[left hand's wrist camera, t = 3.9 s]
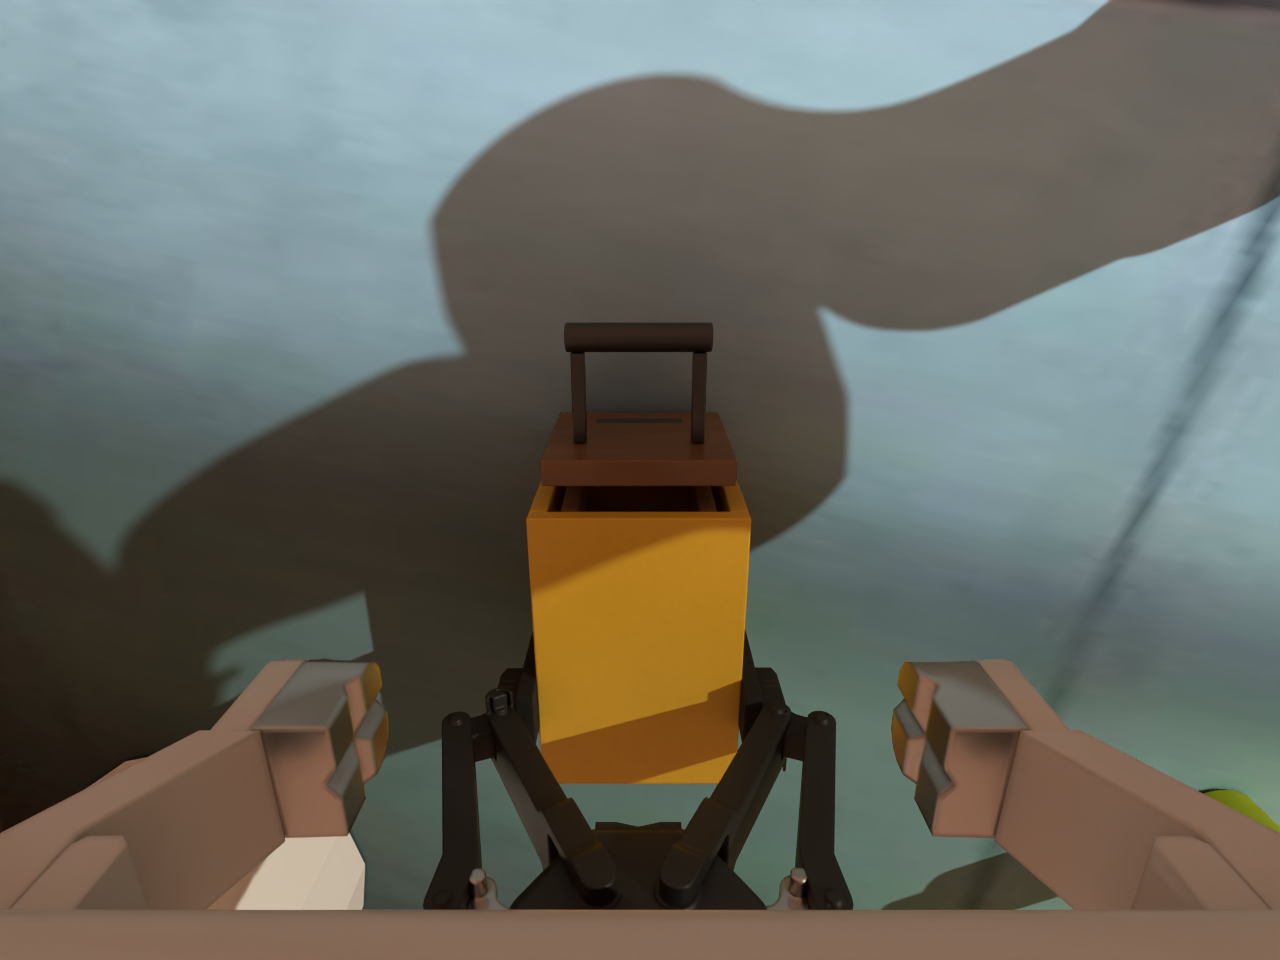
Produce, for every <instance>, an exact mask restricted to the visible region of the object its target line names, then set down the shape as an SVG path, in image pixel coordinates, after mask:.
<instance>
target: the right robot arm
mask: <svg viewBox="0 0 1280 960" xmlns="http://www.w3.org/2000/svg"><path fill="white" fill-rule="evenodd" d="M485 700H486V710H487V712H486V713H485V714H483V715H481V716H477V717H473V718H470V716H469V715H468V714H467V713H465V712H454V713H451V714H449V715H447V716H446V717H445V718H444V719H443V721H442V833H443V855H442V857H441V860H440V862H439V864H438V867H437V869H436V872H435V874H434V877H433V879H432V882H431V884H430V886H429V889H428V891H427V894H426V896H425V899H424V903H423V909H424V910H853V900H852V897H851V894H850V892H849V889H848V887H847V884H846V882H845V879H844V877H843V874H842V872H841V869H840V867H839V865H838V862H837V860H836V857H835V855H834V827H835V754H836V721H835V718H834V717H833V716H832V715H830V714H829V713H827V712H823V711H814V712H811V713H810V714H809V715H808V717H804V716H800V715H797V714H795V713H793V712H791V710H790V708H789V707H788V706H787V705H786V704H785V700H784V697H783V694H782V690H781V687H780V684H779V680H778V677H777V674H776V673H775V672H774V671H773V669H772V668H755V666H754V662H753V658H752V654H751V651H750V647H749V643H748V639H747V635H746V631H745V634H744V651H743V668H742V681H741V698H740V715H739V729H740V734H741V740H742V744H741V746H740V748H739V749H738V751H737V753H736V755H735V756H734V758H733V760H732V761H731V763H730V765H729V766H728V768H727V770H726V772H725V773H724V775H723V777H722V778H721V780H720V782H719V783H718V785H717V787H716V788H715V790H714V792H713V794H712V795H711V797H710V798H704V799H703V801H702V802H701V804H700V806H699V807H698V809H697V811H696V812H695V814H694V816H693V817H692V819H691V821H690V822H689V824H688V826H687V827H686V829H685V830H683V829H681V822H659V823H654V824H649V825H645V826H640V827H636V826H632V825H627V824H623V823H618V822H596V826H595V829H593V830H591V828H590V827H589V825H588V823H587V822H586V820H585V818H584V816H583V815H582V813H581V811H580V810H579V808H578V806H577V805H576V803H575V801H574V800H573V799H572V798H568V799H567V797H566V796H565V794H564V792H563V790H562V789H561V787H560V785H559V784H558V782H557V780H556V778H555V777H554V775H553V773H552V772H551V770H550V768H549V766H548V765H547V763H546V761H545V760H544V758H543V756H542V754H541V753H540V751H539V749H538V747H537V746H536V740H537V735H538V730H539V713H538V697H537V681H536V668H535V652H534V636H533V632H532V636H531V640H530V644H529V648H528V651H527V655H526V659H525V663H524V667H523V668H507V669H506V670H505V672H504V673H503V674H502V675H501V678H500V683H499V685H498V688H497V689H494V690H491V691H490V692H489V693H487V695H486V697H485ZM787 757H788V758H792V759H796V760H800V761H803V767H802V780H801V794H800V807H799V821H798V834H797V848H796V862H795V868H793V869H792V870H791V873H790V875H789V876H787V877H785V878H784V879H783V880H782V881H781V884H780V890H779V898H778V900H777V901H776V902H775V903H774V904H772V905H770V906H765V905H764V903H763V902H762V900H761V899H760V898H759V897H758V896H757V895H756V894H755V893H754V892H753V891H752V890H751V889H750V888H749V887H748V886H747V885H746V884H745V883H744V882H743V881H742V880H741V879H740V877H739V876H738V875H737V874H736V873H735V872H734V866H735V863H736V860H737V858H738V856H739V854H740V852H741V850H742V848H743V846H744V844H745V842H746V840H747V838H748V835H749V833H750V831H751V829H752V827H753V825H754V823H755V821H756V819H757V817H758V815H759V813H760V811H761V809H762V807H763V805H764V803H765V801H766V799H767V797H768V795H769V793H770V791H771V789H772V787H773V785H774V783H775V781H776V779H777V776H778V774H779V772H780V770H781V768H782V767H783V771H785V770H786V760H787ZM489 758H491V759H492V761H493V763H494V765H495V767H496V769H497V771H498V773H499V775H500V777H501V780H502V782H503V784H504V786H505V788H506V790H507V792H508V794H509V796H510V798H511V800H512V802H513V804H514V806H515V808H516V810H517V813H518V815H519V817H520V819H521V821H522V823H523V825H524V827H525V829H526V831H527V833H528V835H529V837H530V839H531V841H532V844H533V846H534V848H535V850H536V852H537V854H538V856H539V858H540V860H541V863H542V866H543V872H542V873H541V874H540V875H539V876H538V877H537V878H536V879H535V880H534V881H533V882H532V883H531V884H530V885H529V886H528V887H527V888H526V889H525V890H524V891H523V892H522V893H521V894H520V895H519V896H518V897H517V898H516V900H515V901H514V902H513V903H512V905H511V907H508V906H505V905H503V904H501V903H500V901H499V900H498V894H497V886H496V883H495V881H494V880H493V879H492V878H490V877H489V876H486V872H485V870H484V869H482V859H481V844H480V829H479V813H478V798H477V783H476V768H475V762H477V761H481V760H485V759H489Z"/></svg>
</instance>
